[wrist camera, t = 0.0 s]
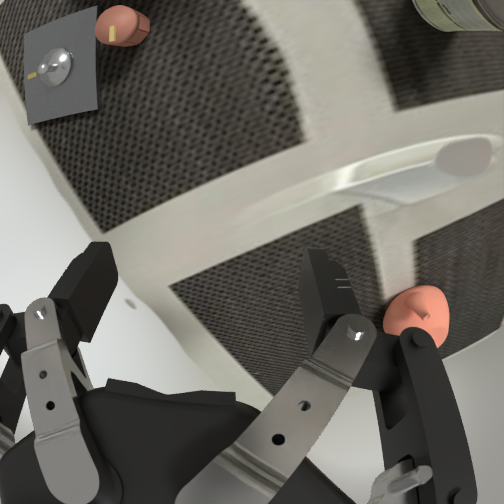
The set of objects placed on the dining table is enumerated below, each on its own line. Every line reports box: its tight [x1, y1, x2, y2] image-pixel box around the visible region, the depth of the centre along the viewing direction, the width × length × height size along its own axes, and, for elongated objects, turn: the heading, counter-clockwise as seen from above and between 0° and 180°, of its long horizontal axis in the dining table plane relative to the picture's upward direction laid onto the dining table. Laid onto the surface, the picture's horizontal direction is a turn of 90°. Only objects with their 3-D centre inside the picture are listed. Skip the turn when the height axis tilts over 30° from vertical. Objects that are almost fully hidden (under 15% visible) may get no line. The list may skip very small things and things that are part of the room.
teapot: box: [383, 285, 449, 348], centre depth 50 cm, size 22×15×12 cm
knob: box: [95, 5, 150, 47], centre depth 24 cm, size 5×5×6 cm
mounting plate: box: [24, 5, 102, 125], centre depth 26 cm, size 16×14×5 cm
